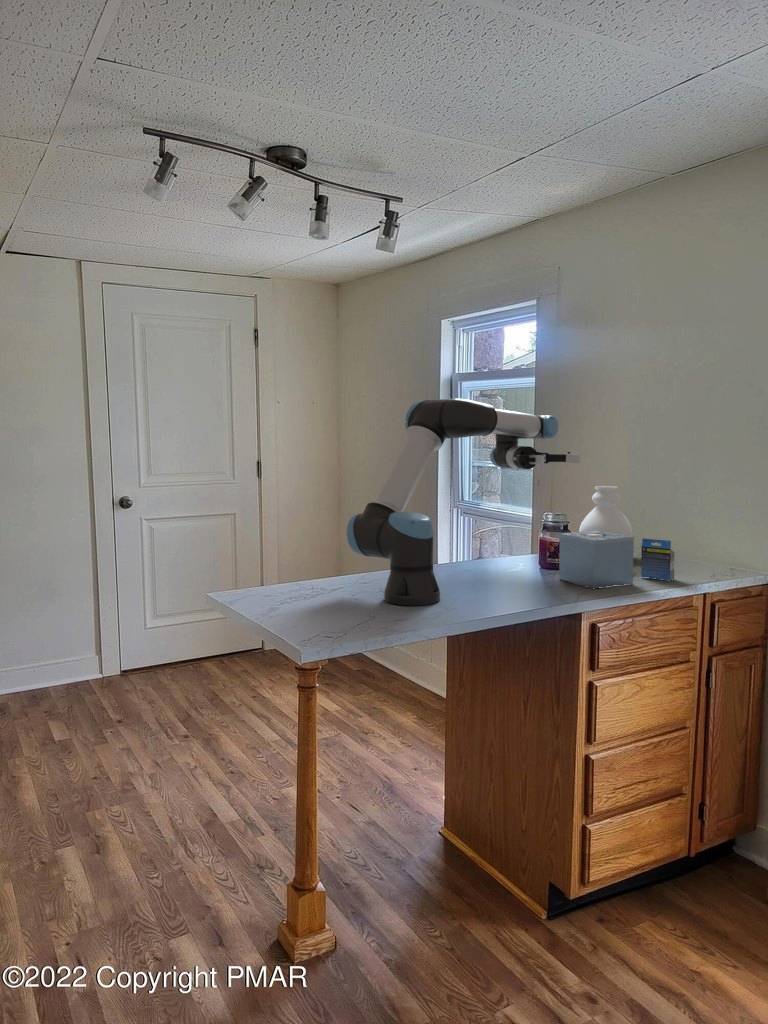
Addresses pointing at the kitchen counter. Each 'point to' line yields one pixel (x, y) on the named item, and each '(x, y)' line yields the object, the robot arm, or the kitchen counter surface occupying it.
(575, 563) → the grey box with opening
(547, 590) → the kitchen counter surface
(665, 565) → the label tape box
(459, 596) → the kitchen counter surface
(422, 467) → the robot arm
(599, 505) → the decorative vase
